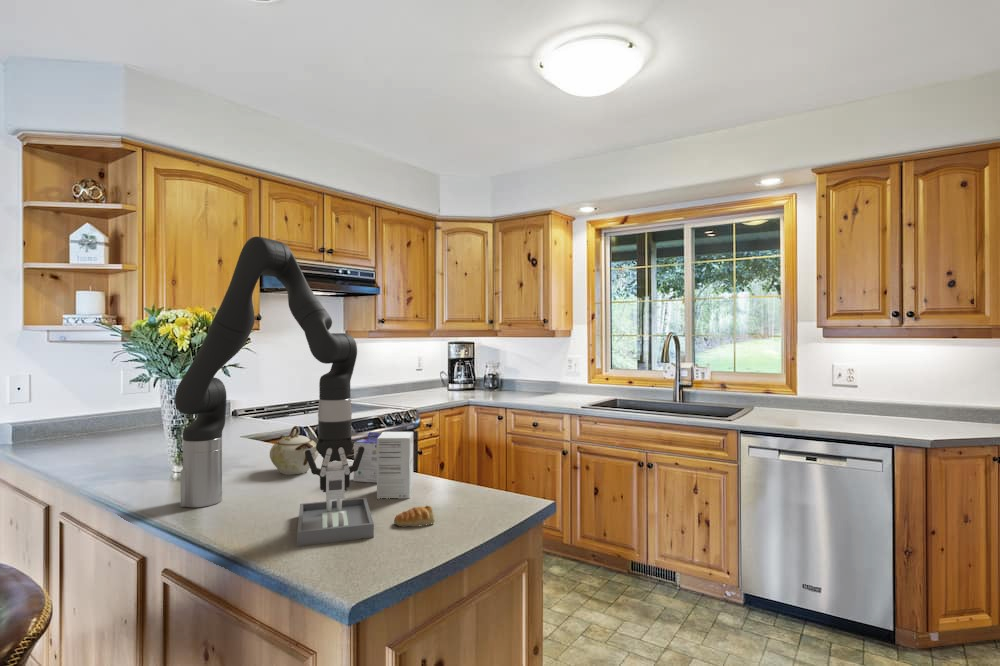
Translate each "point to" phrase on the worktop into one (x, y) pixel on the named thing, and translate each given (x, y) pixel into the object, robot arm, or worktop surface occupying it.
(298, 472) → the sugar bowl
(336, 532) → the guide tray
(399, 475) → the supplement box
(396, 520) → the pastry
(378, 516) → the worktop surface
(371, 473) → the ink cartridge box
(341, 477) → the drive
